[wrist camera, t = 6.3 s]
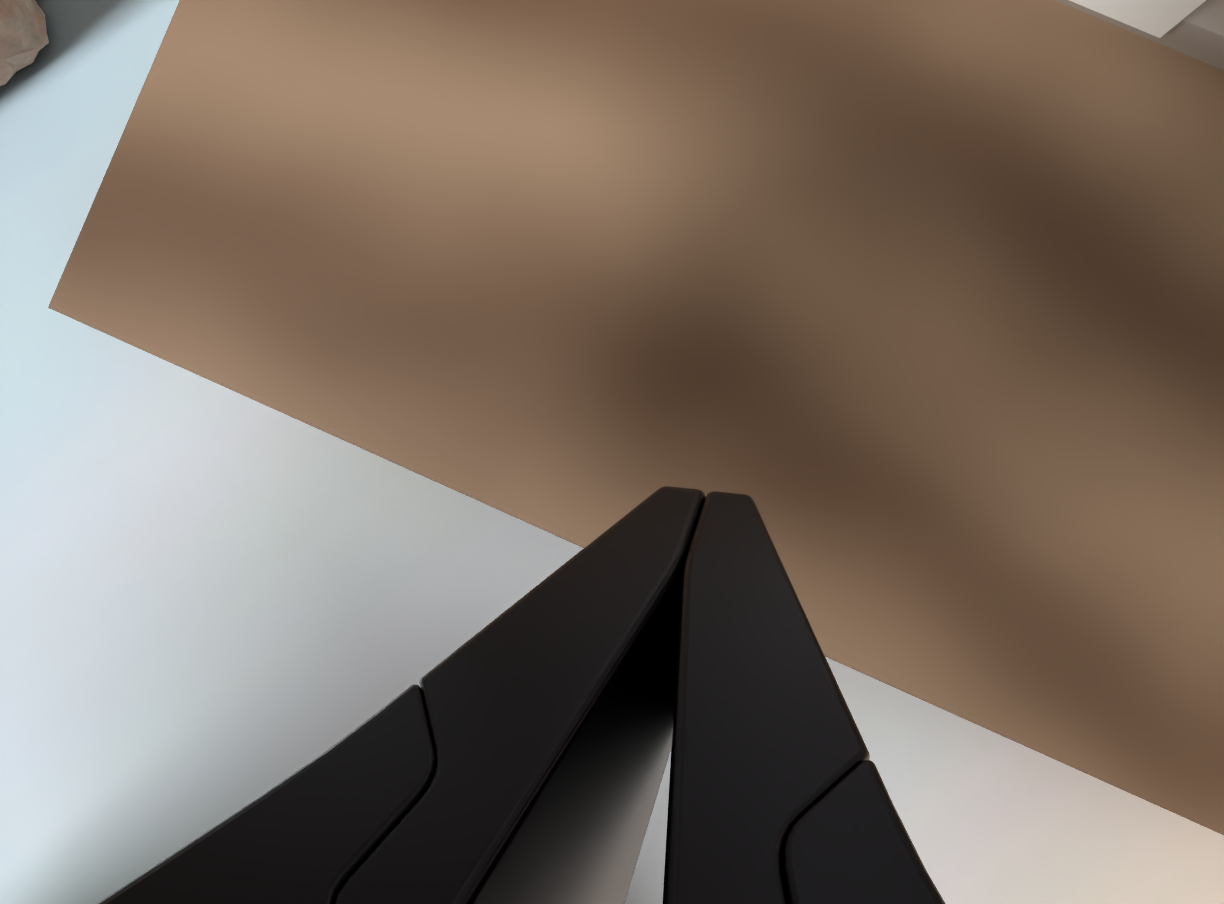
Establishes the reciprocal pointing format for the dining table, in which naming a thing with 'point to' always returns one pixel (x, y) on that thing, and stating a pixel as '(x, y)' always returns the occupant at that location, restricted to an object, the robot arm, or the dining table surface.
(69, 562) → the dining table surface
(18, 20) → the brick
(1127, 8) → the relay module
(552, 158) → the board
